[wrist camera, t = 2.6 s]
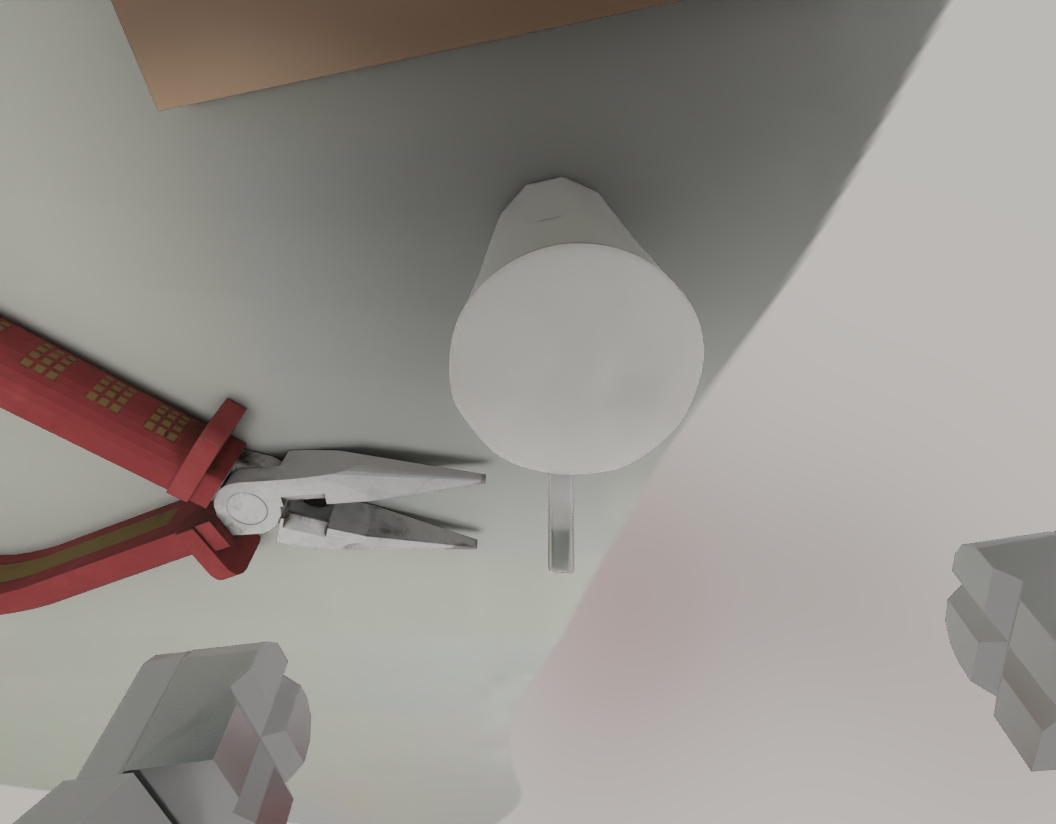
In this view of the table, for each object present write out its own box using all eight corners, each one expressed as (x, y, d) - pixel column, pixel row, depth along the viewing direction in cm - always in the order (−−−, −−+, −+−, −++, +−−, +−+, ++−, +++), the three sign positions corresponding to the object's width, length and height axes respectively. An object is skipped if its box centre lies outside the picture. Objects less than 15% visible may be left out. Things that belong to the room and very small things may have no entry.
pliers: (469, 611, 28) (465, 668, 25) (-95, 566, 26) (-156, 622, 24) (501, 333, 22) (498, 374, 19) (-230, 254, 20) (-330, 287, 18)
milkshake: (467, 330, 21) (432, 565, 12) (479, 141, 18) (445, 275, 10) (617, 343, 21) (684, 582, 13) (651, 160, 19) (767, 304, 10)
